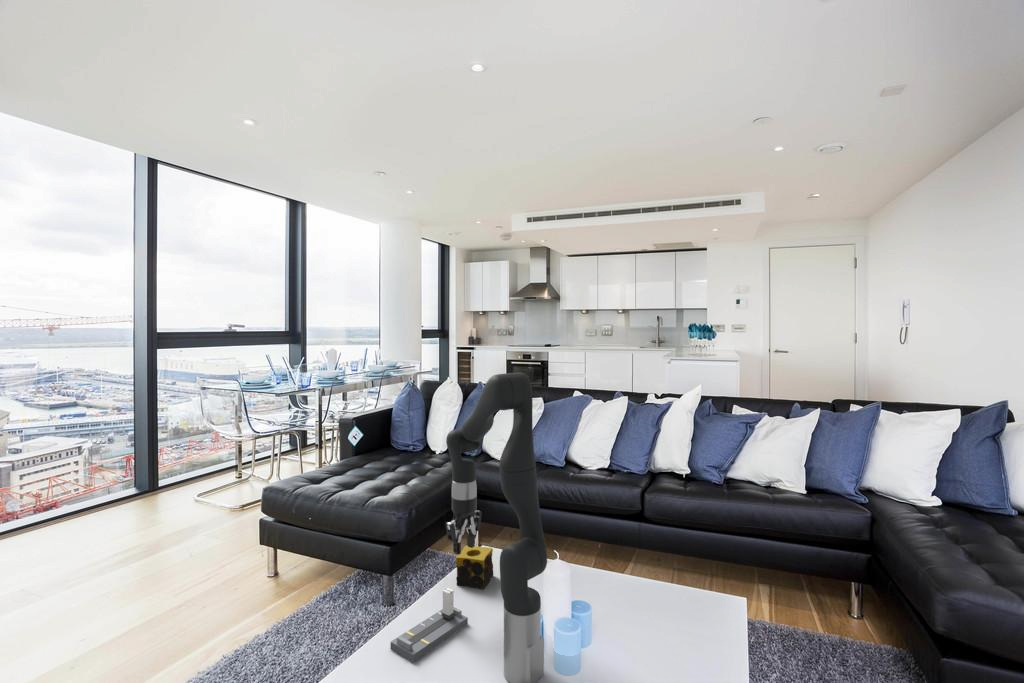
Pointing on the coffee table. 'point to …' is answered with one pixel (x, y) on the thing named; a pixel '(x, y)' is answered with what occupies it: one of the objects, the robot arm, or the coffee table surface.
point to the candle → (474, 567)
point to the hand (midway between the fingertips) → (464, 550)
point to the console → (428, 635)
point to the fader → (448, 603)
